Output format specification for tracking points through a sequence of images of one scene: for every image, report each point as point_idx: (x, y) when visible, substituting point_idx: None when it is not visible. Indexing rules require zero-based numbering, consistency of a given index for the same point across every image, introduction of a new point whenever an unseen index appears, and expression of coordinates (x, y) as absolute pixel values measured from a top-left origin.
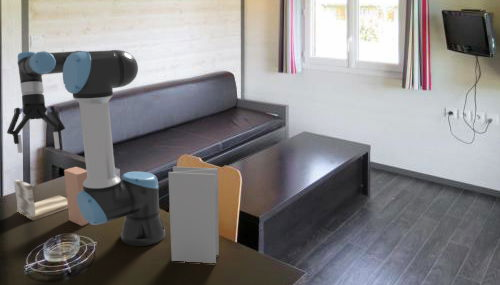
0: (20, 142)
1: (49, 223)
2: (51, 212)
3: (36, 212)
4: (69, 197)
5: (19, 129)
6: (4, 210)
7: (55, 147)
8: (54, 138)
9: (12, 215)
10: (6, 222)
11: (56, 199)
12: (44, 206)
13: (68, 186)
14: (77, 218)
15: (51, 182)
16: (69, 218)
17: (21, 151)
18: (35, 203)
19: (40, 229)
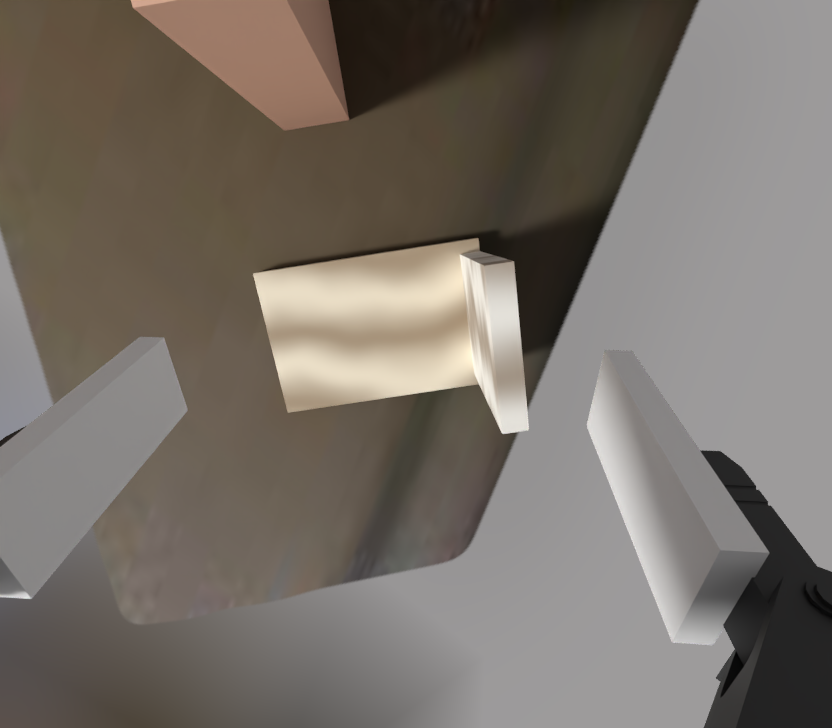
0: (672, 434)
1: (434, 152)
2: (385, 252)
3: (445, 279)
4: (321, 43)
5: (802, 695)
6: None
7: (174, 410)
8: (99, 492)
9: None
10: (565, 301)
11: (315, 367)
12: (390, 323)
13: (304, 4)
14: (329, 20)
15: (255, 594)
16: (347, 113)
17: (623, 356)
18: (408, 385)
19: (492, 113)
